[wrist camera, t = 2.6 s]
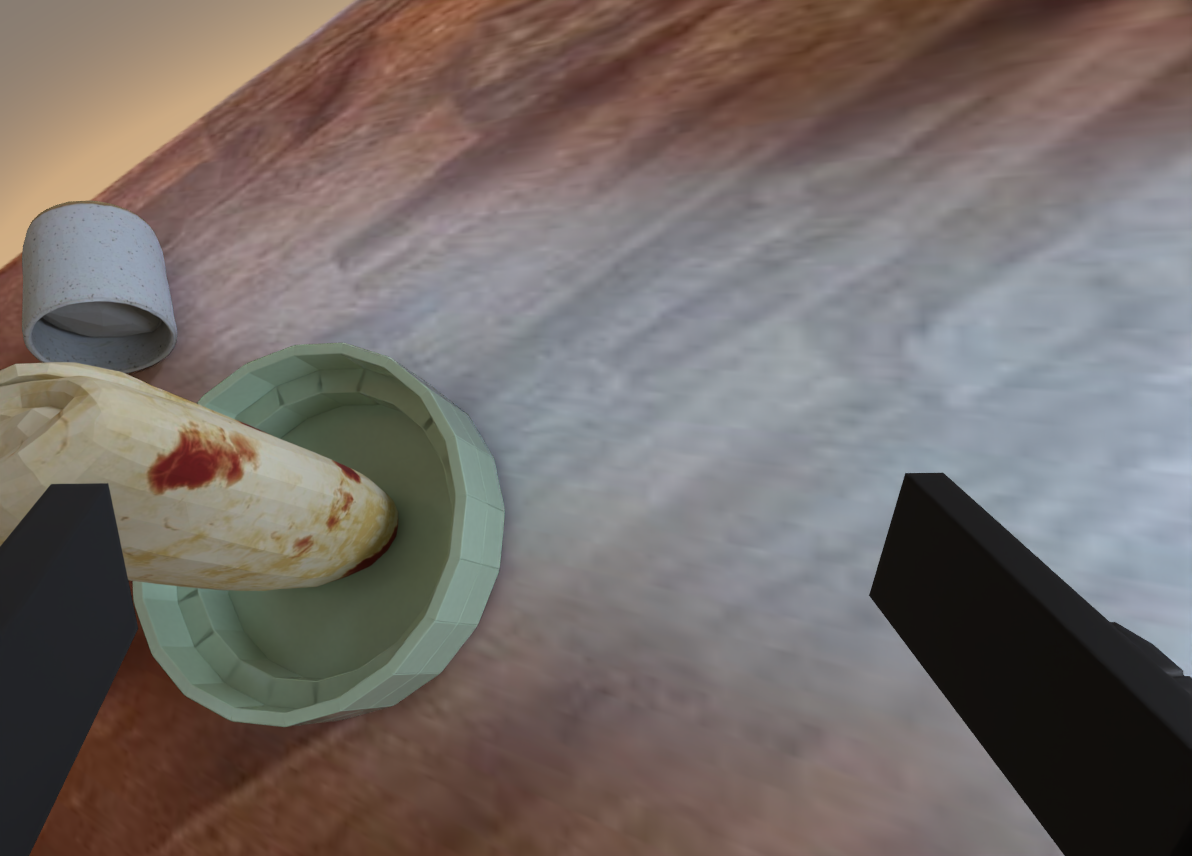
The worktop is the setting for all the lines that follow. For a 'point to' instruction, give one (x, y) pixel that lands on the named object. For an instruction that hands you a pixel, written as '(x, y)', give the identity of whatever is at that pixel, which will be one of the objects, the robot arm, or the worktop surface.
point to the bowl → (366, 598)
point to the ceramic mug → (95, 288)
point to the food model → (186, 483)
